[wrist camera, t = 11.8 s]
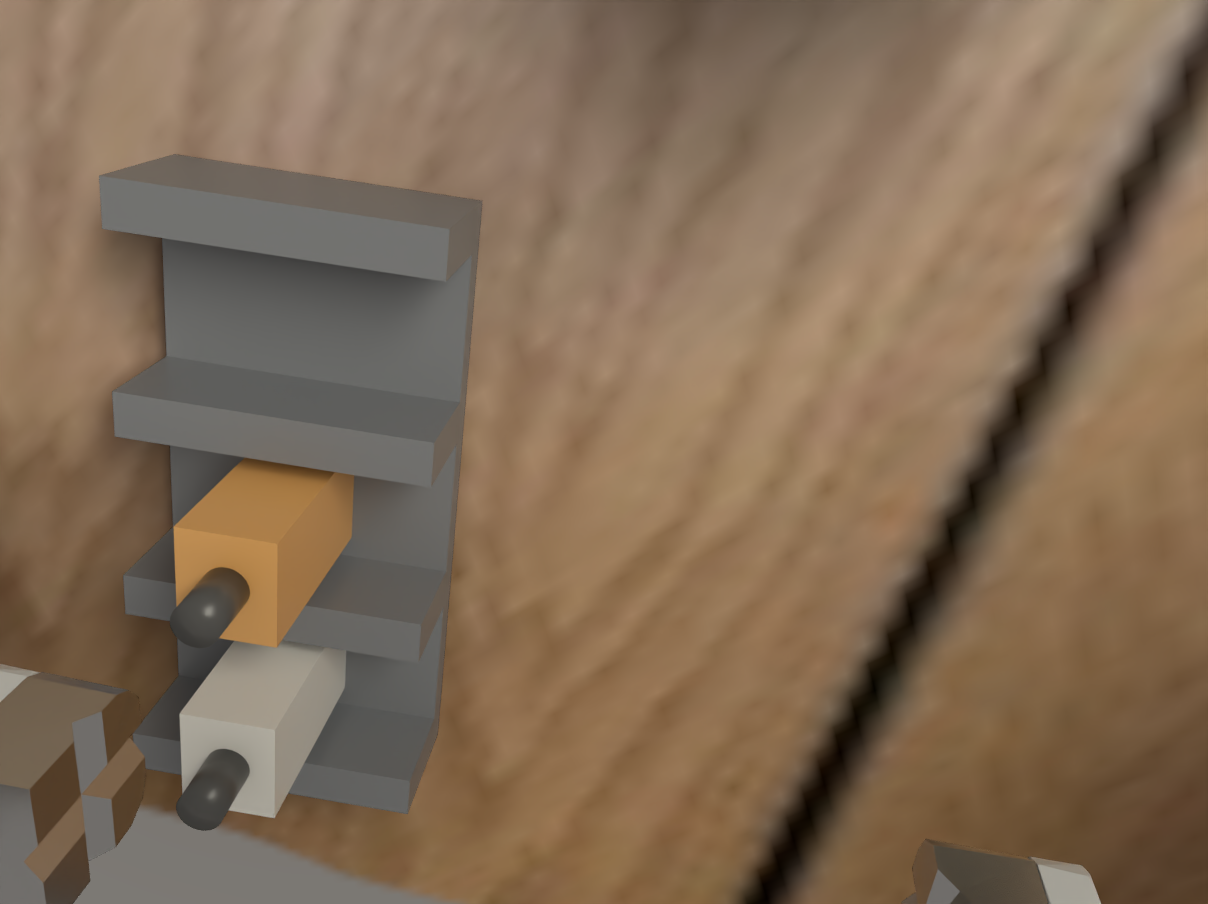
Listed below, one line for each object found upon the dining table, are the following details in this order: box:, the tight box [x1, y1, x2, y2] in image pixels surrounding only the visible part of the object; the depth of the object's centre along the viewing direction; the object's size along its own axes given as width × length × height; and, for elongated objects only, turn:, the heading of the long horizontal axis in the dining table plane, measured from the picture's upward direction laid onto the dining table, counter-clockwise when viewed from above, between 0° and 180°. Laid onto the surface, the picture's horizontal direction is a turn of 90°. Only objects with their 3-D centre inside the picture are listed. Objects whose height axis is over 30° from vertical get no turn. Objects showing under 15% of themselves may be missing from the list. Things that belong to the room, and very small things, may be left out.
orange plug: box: [170, 458, 354, 648], centre depth 33 cm, size 3×4×9 cm
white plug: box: [176, 640, 346, 830], centre depth 35 cm, size 3×4×9 cm
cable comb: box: [99, 154, 482, 814], centre depth 36 cm, size 10×21×4 cm, turn 173°
